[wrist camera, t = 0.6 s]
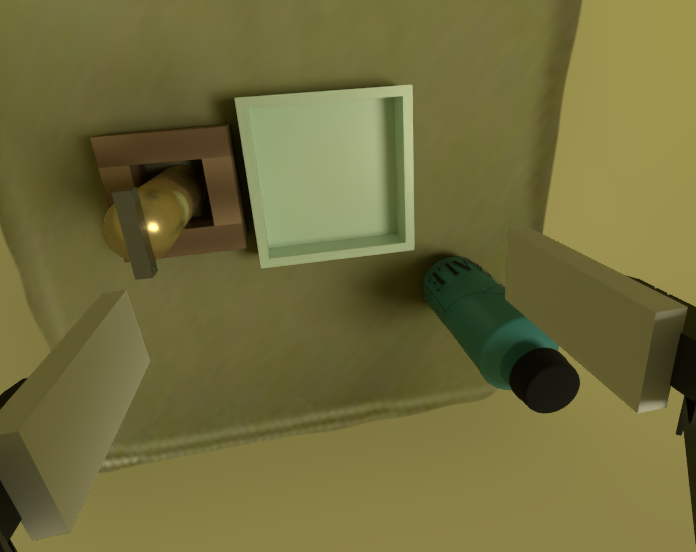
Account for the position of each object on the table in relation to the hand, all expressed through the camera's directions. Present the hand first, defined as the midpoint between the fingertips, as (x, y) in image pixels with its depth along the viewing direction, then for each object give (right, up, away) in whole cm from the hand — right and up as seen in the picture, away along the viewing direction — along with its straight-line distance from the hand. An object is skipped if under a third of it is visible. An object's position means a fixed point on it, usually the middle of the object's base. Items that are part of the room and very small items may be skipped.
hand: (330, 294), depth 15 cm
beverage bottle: (+11, 0, +32) cm, 33 cm away
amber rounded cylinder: (-14, +8, +24) cm, 29 cm away
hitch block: (-14, +8, +24) cm, 29 cm away
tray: (-1, +10, +25) cm, 27 cm away
